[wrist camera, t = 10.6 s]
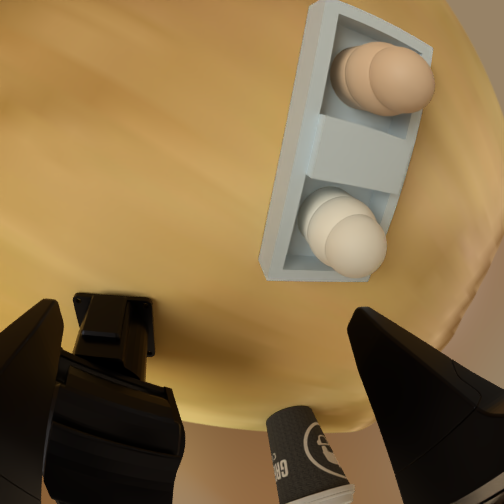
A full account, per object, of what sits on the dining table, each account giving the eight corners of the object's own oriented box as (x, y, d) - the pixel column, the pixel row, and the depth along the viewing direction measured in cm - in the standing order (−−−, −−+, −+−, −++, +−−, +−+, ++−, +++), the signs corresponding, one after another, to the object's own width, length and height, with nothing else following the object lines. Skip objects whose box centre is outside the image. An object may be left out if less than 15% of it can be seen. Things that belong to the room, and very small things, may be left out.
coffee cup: (269, 400, 32) (303, 513, 20) (334, 397, 35) (375, 490, 23) (245, 434, 36) (268, 526, 24) (303, 430, 39) (333, 511, 27)
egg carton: (353, 264, 24) (372, 287, 21) (258, 259, 22) (269, 287, 19) (409, 48, 15) (441, 48, 12) (309, 6, 13) (332, -8, 10)
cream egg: (362, 190, 20) (415, 228, 15) (344, 246, 22) (386, 296, 17) (304, 180, 19) (349, 219, 13) (289, 242, 21) (322, 297, 16)
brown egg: (381, 119, 17) (444, 137, 12) (322, 100, 16) (379, 109, 11) (392, 59, 15) (458, 61, 10) (334, 35, 14) (394, 21, 9)
